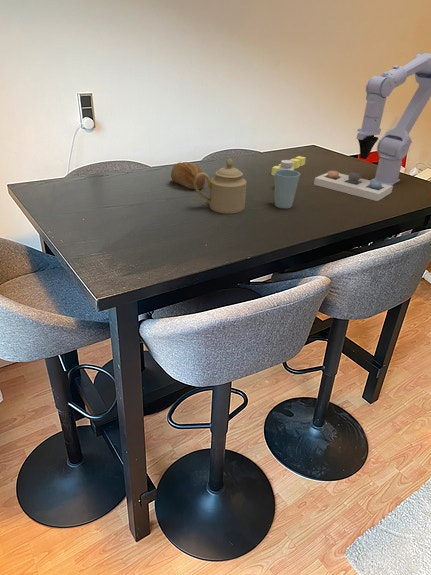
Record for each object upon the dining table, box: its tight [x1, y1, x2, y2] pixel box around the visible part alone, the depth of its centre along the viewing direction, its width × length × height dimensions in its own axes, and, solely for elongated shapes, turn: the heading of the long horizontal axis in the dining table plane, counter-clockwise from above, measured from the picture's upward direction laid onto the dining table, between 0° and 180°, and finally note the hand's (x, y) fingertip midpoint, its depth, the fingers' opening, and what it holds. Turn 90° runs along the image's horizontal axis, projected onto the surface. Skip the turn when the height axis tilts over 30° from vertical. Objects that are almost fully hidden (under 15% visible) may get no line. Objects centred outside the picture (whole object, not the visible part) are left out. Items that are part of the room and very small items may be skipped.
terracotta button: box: [327, 170, 340, 180], centre depth 154 cm, size 4×4×4 cm
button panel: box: [313, 172, 394, 202], centre depth 150 cm, size 12×24×2 cm, turn 49°
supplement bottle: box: [278, 159, 295, 171], centre depth 146 cm, size 5×5×10 cm
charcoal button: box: [348, 171, 362, 185], centre depth 149 cm, size 4×4×4 cm
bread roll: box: [170, 161, 206, 190], centre depth 147 cm, size 10×15×8 cm, turn 41°
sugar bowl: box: [194, 158, 248, 215], centre depth 127 cm, size 15×11×15 cm
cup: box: [274, 170, 301, 209], centre depth 132 cm, size 8×8×10 cm
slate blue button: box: [369, 180, 382, 190], centre depth 145 cm, size 4×4×4 cm
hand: (363, 158), depth 147 cm, fingers closed
